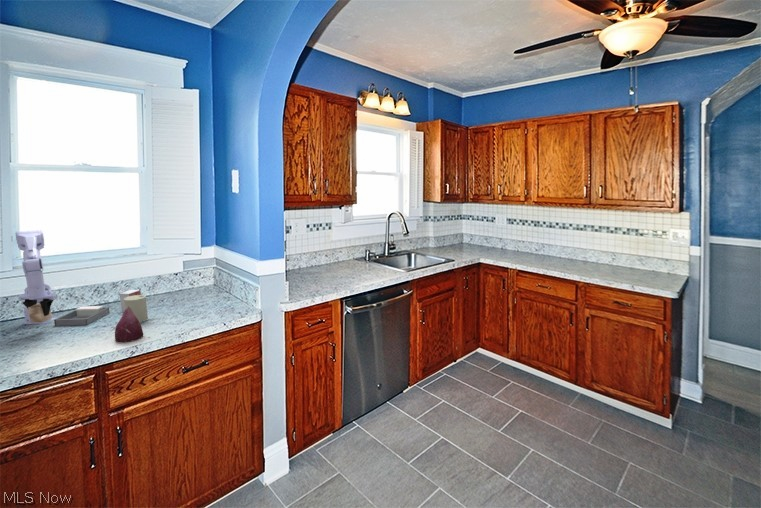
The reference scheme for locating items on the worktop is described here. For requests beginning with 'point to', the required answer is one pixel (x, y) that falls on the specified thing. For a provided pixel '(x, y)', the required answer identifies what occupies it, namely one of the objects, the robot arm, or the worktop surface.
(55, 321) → the tray
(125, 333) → the vegetable
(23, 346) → the worktop surface
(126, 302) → the can
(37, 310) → the wood block
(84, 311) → the white box
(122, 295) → the small box
